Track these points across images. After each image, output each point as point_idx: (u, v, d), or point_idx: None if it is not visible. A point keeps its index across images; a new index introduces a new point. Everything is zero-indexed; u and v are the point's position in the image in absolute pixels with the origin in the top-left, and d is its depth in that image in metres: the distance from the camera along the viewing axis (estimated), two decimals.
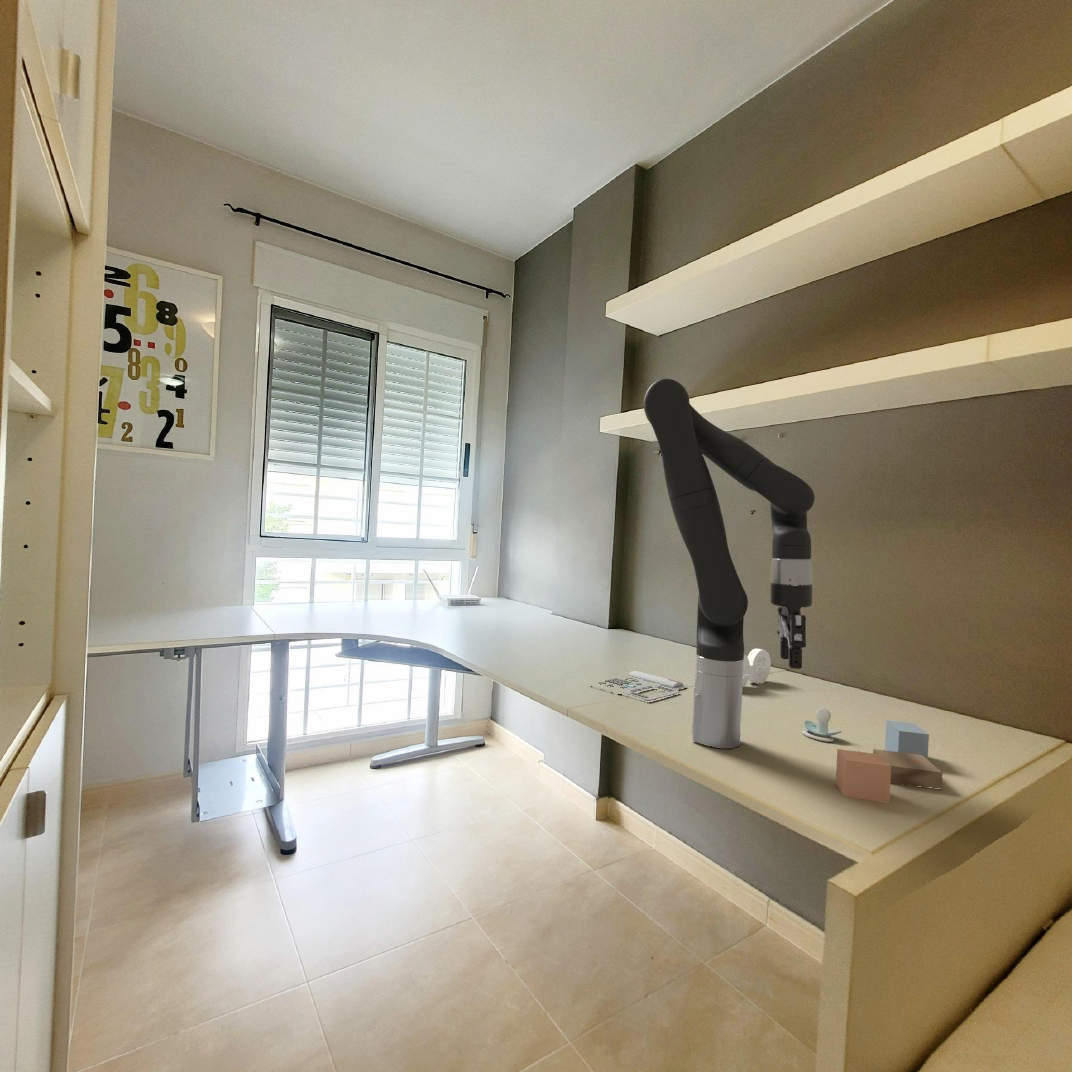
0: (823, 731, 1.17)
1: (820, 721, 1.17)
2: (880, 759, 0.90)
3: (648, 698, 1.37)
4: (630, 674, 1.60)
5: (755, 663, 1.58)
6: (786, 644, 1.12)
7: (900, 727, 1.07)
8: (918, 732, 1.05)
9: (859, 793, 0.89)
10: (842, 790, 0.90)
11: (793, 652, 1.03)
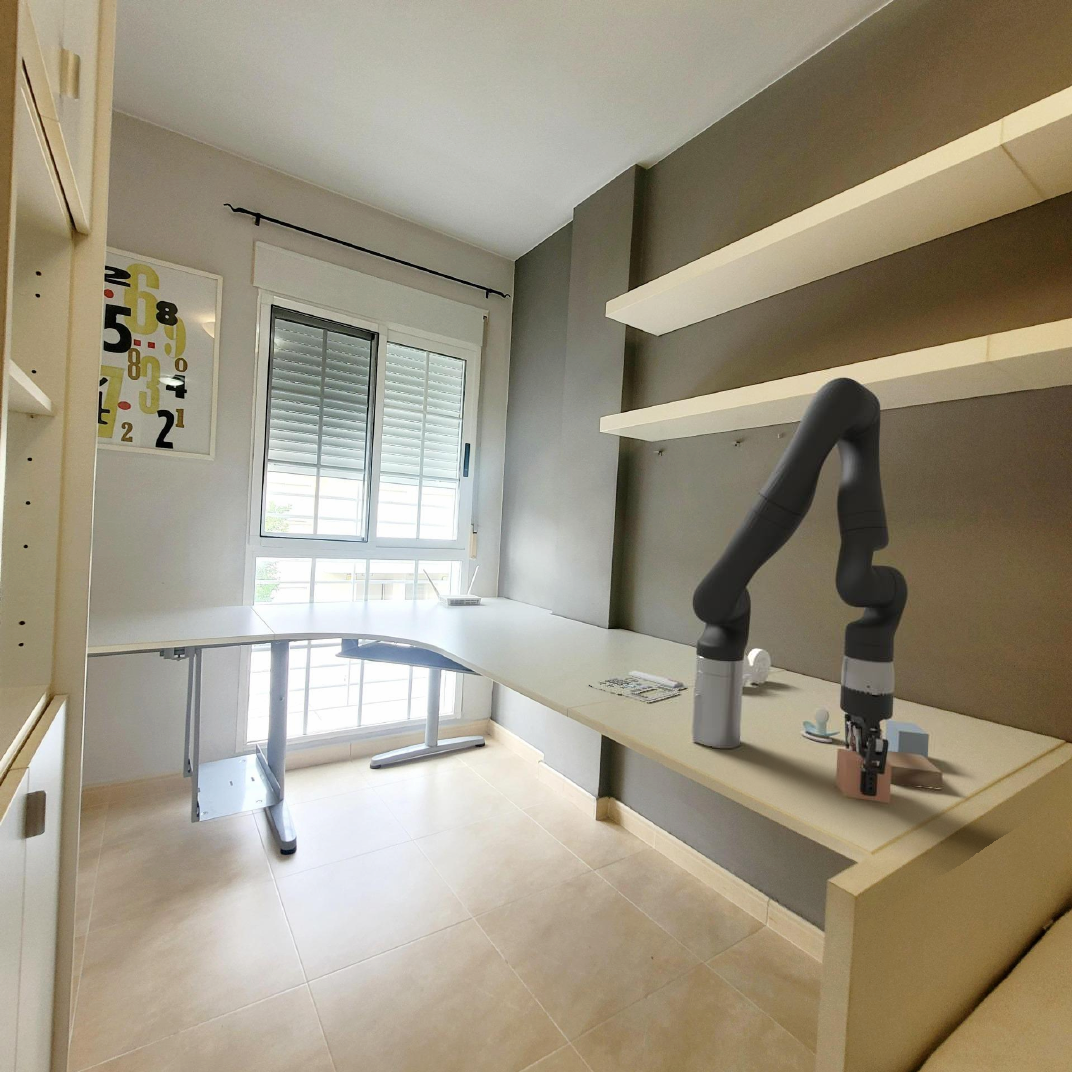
0: (821, 732, 1.16)
1: (818, 721, 1.17)
2: None
3: (648, 698, 1.37)
4: (630, 674, 1.60)
5: (755, 663, 1.58)
6: None
7: (900, 727, 1.07)
8: (918, 732, 1.05)
9: (859, 792, 0.89)
10: (842, 789, 0.90)
11: (867, 777, 0.87)
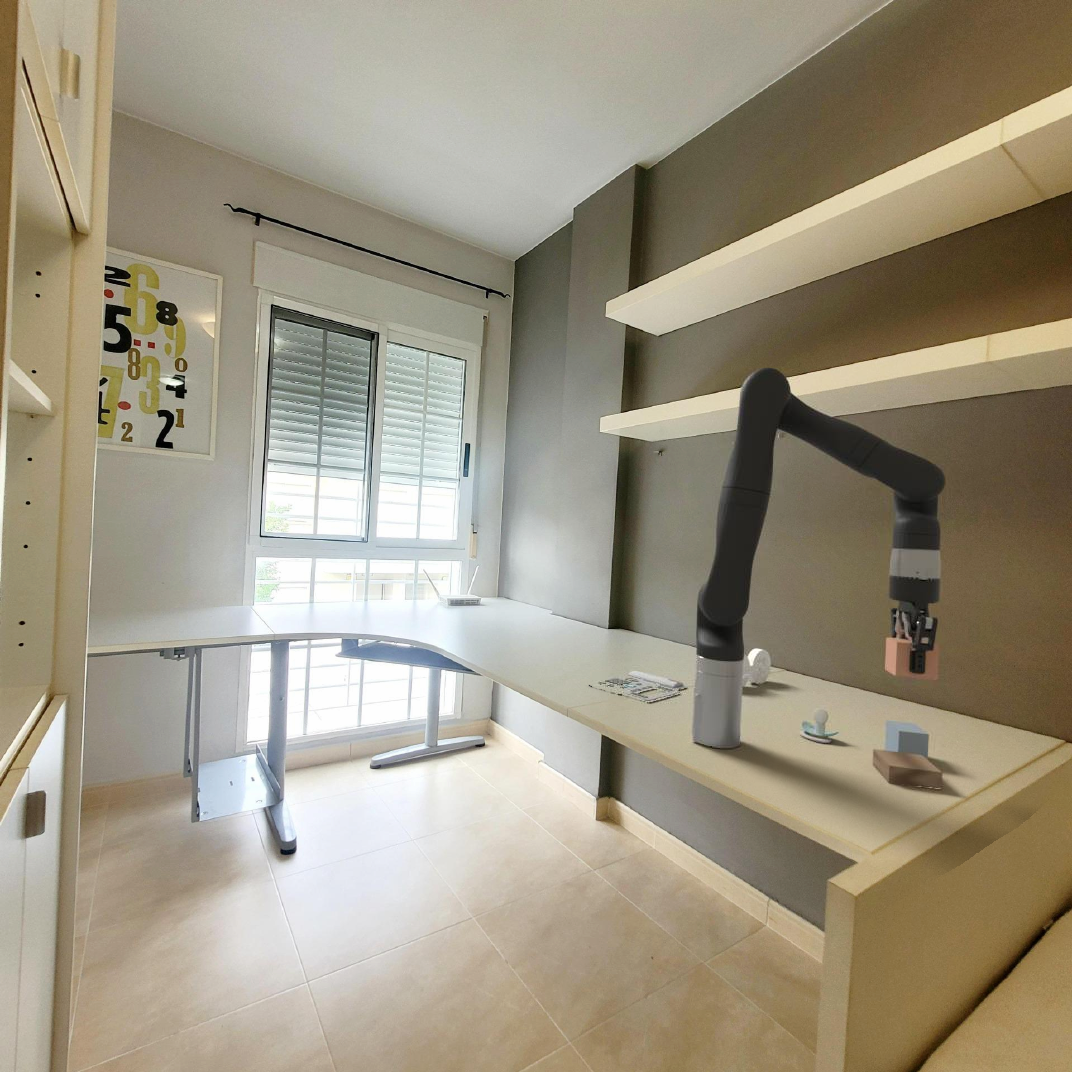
0: (820, 732, 1.16)
1: (817, 722, 1.17)
2: None
3: (648, 698, 1.37)
4: (630, 674, 1.60)
5: (755, 663, 1.58)
6: None
7: (900, 727, 1.07)
8: (918, 732, 1.05)
9: (909, 672, 0.96)
10: (892, 671, 0.97)
11: (916, 655, 0.94)
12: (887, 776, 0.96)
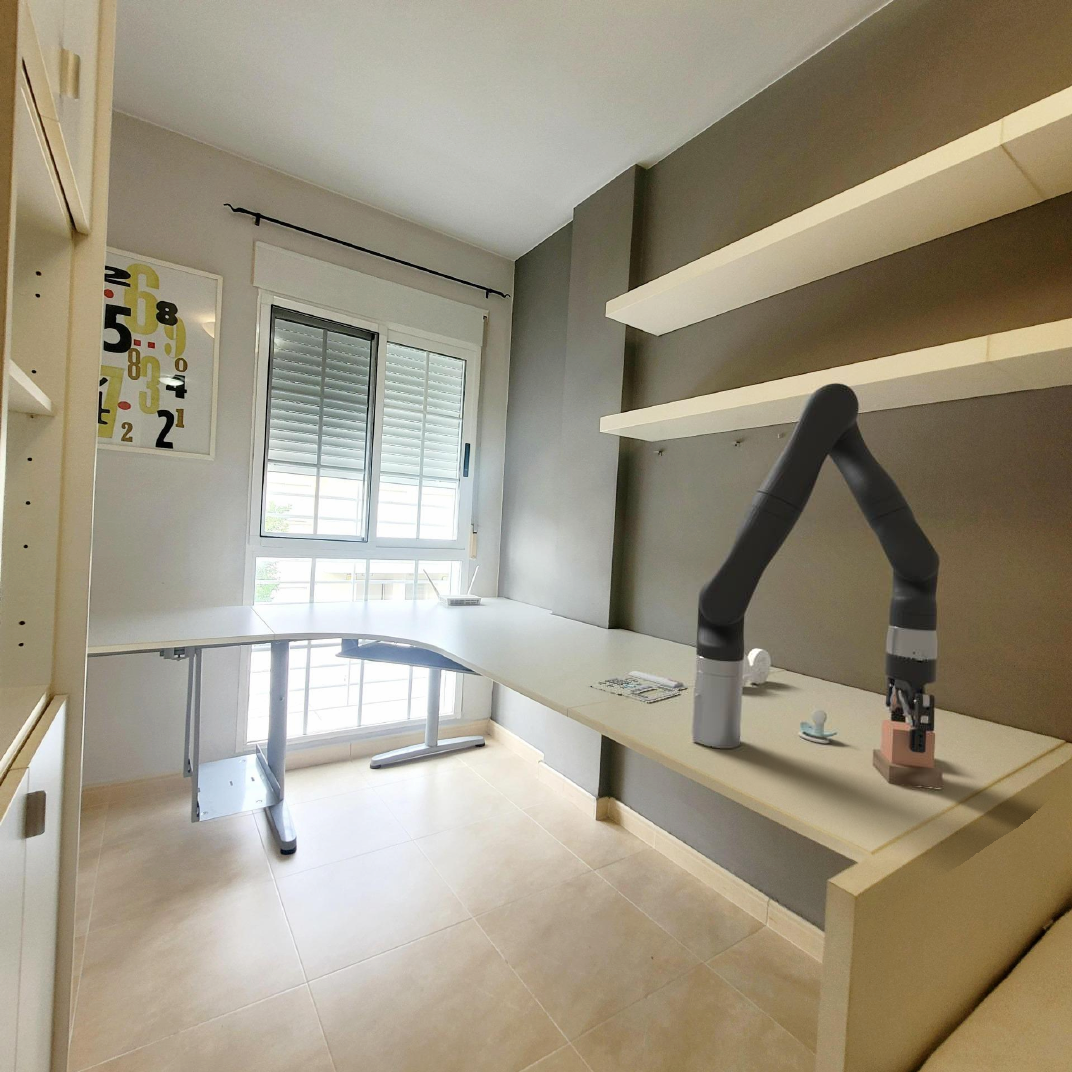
0: (819, 732, 1.16)
1: (816, 722, 1.16)
2: None
3: (648, 698, 1.37)
4: (630, 674, 1.60)
5: (755, 663, 1.58)
6: (898, 719, 1.02)
7: None
8: None
9: (905, 759, 0.96)
10: (888, 757, 0.98)
11: (917, 734, 0.93)
12: (887, 776, 0.96)
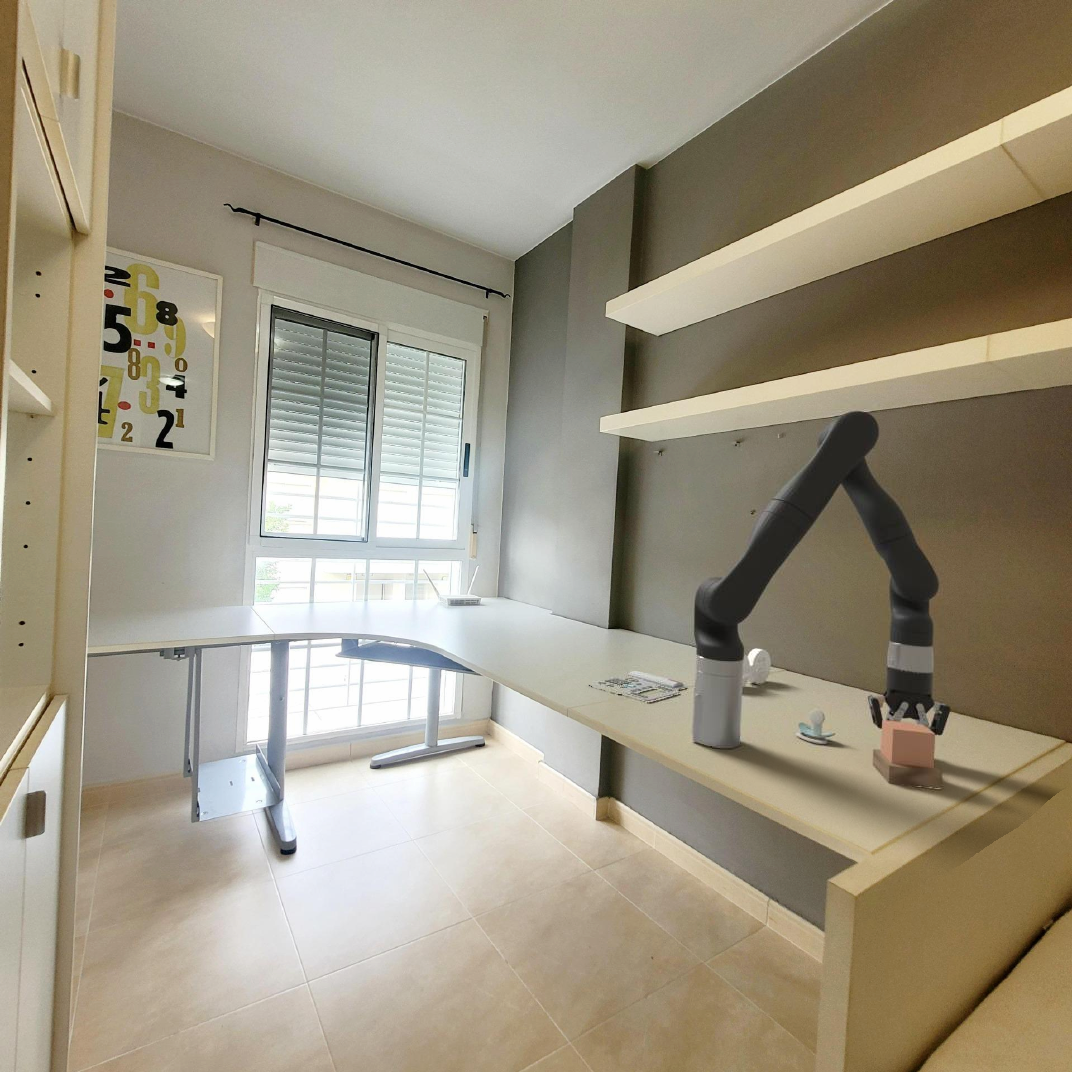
0: (817, 733, 1.15)
1: (814, 723, 1.16)
2: (924, 728, 0.97)
3: (648, 698, 1.37)
4: (630, 674, 1.60)
5: (755, 663, 1.58)
6: None
7: None
8: None
9: (905, 759, 0.96)
10: (888, 757, 0.98)
11: None
12: (887, 776, 0.96)
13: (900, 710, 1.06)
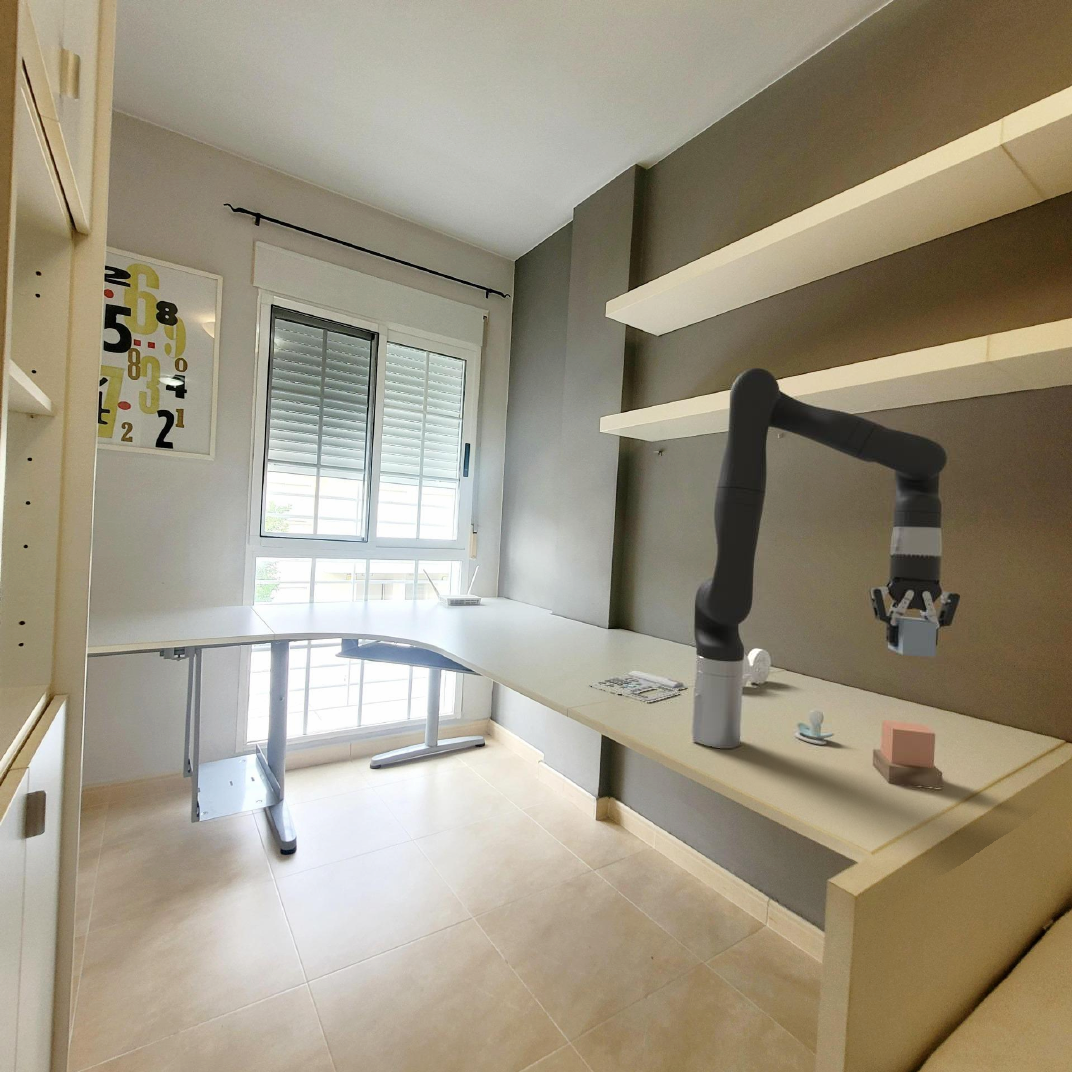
0: (816, 733, 1.15)
1: (813, 723, 1.16)
2: (924, 728, 0.97)
3: (648, 698, 1.37)
4: (630, 674, 1.60)
5: (755, 663, 1.58)
6: None
7: (905, 619, 0.98)
8: (925, 621, 0.95)
9: (905, 759, 0.96)
10: (888, 757, 0.98)
11: (887, 627, 1.00)
12: (887, 776, 0.96)
13: (905, 600, 0.97)
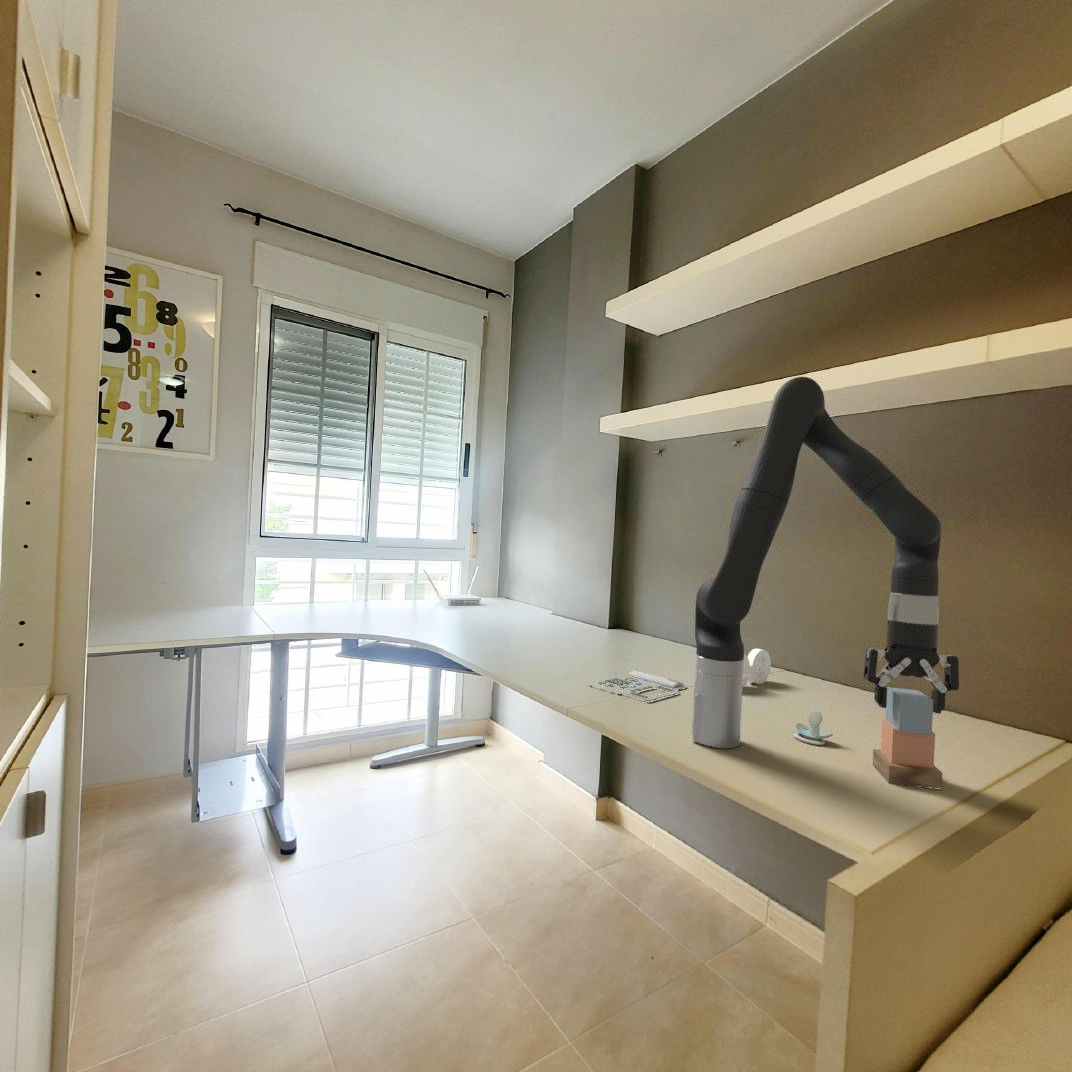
0: (815, 734, 1.15)
1: (812, 724, 1.15)
2: None
3: (648, 698, 1.37)
4: (630, 674, 1.60)
5: (755, 663, 1.58)
6: (934, 695, 0.97)
7: (902, 693, 0.98)
8: (921, 698, 0.95)
9: (905, 759, 0.96)
10: (888, 757, 0.98)
11: (875, 687, 1.00)
12: (887, 776, 0.96)
13: (900, 665, 0.97)
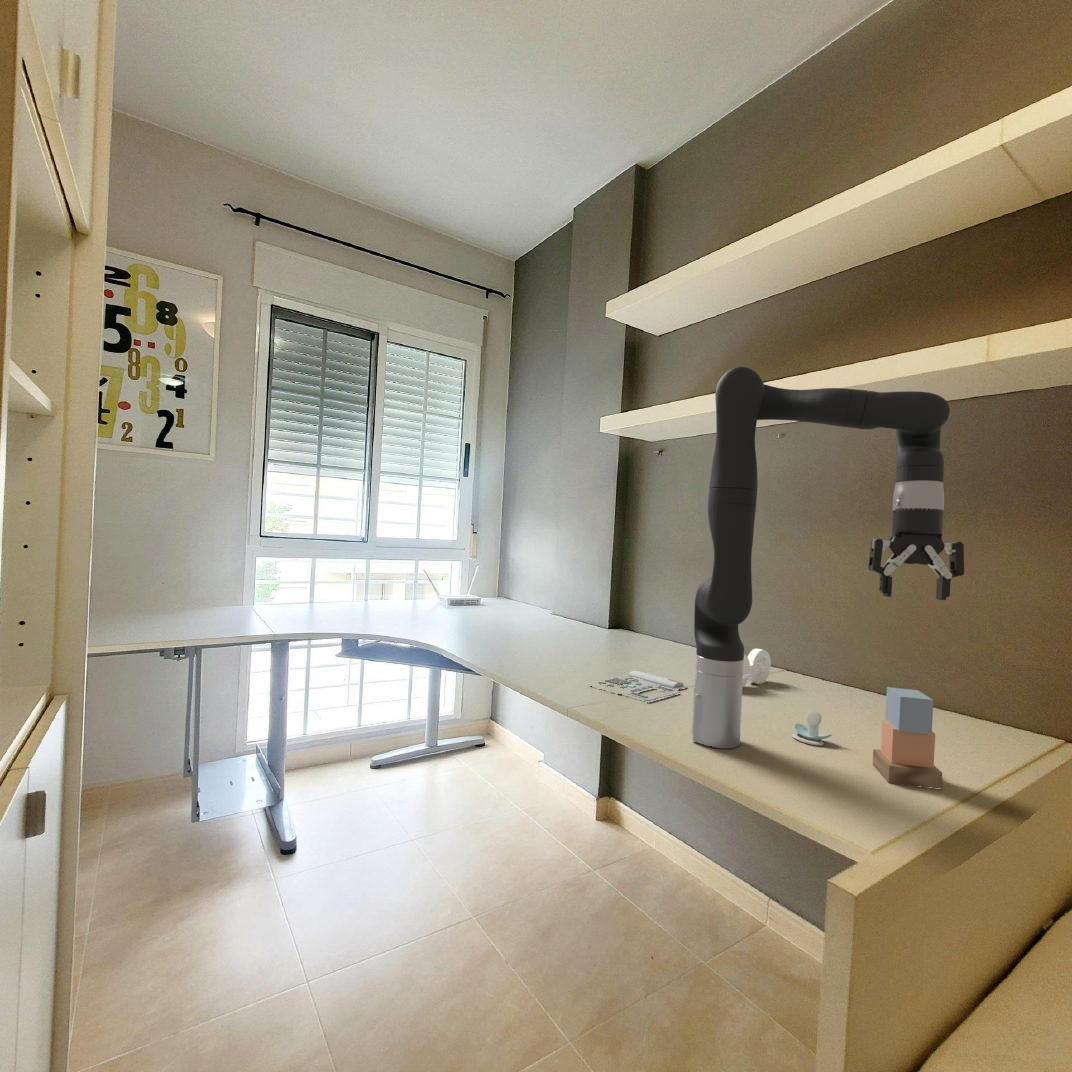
0: (813, 734, 1.14)
1: (810, 724, 1.15)
2: None
3: (648, 698, 1.37)
4: (630, 674, 1.60)
5: (755, 663, 1.58)
6: (939, 582, 0.97)
7: (902, 693, 0.98)
8: (921, 698, 0.95)
9: (905, 759, 0.96)
10: (888, 757, 0.98)
11: (880, 578, 1.00)
12: (887, 776, 0.96)
13: (905, 553, 0.97)
